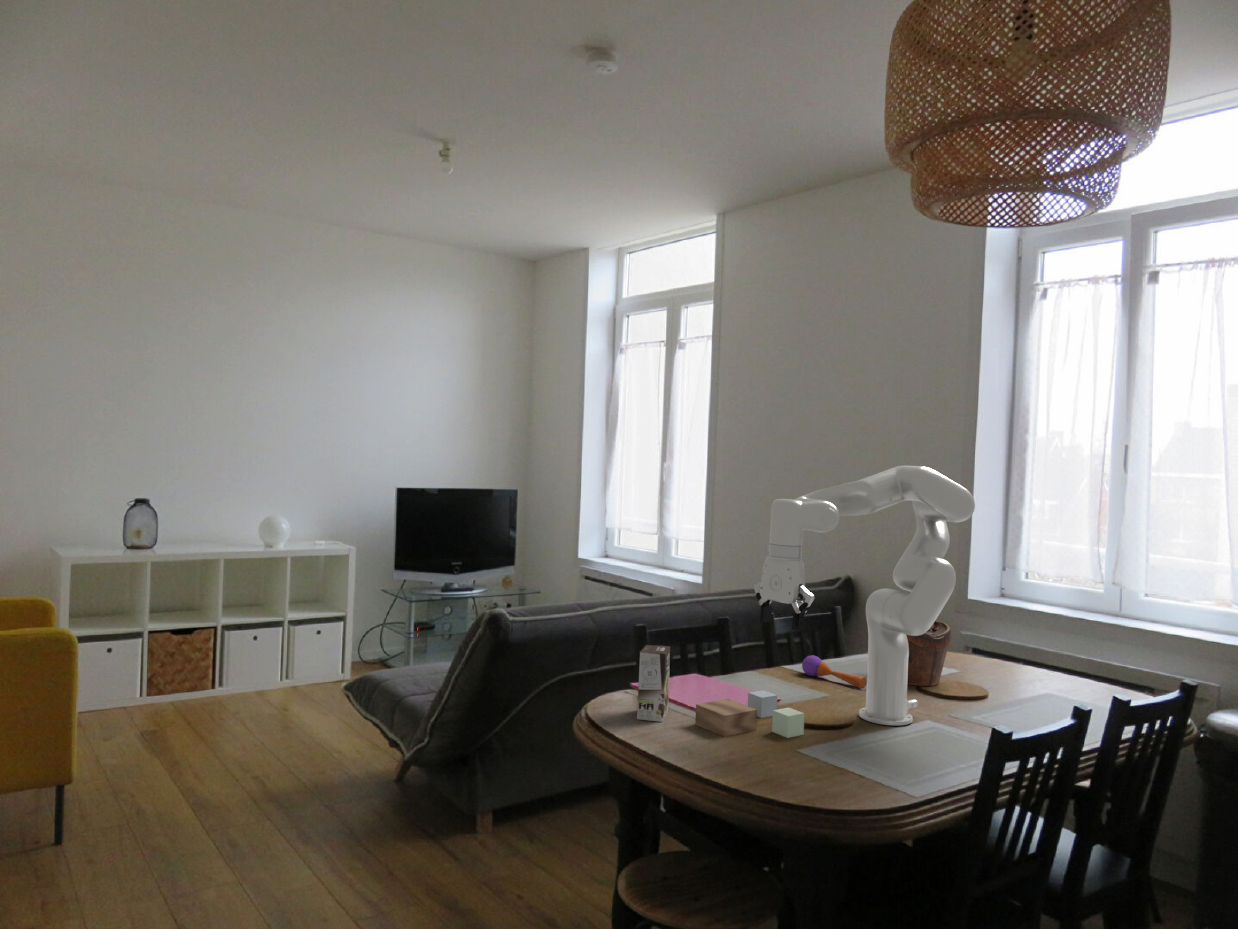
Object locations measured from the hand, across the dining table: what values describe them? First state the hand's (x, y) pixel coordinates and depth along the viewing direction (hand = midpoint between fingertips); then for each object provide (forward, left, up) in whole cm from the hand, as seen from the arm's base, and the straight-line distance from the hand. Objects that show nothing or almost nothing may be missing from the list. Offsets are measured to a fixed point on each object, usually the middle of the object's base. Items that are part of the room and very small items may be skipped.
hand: (781, 626), depth 206 cm
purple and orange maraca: (-46, -25, -24) cm, 58 cm away
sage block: (0, +4, -24) cm, 24 cm away
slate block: (-5, -10, -24) cm, 27 cm away
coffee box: (+20, -21, -24) cm, 38 cm away
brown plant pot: (-69, -14, -24) cm, 74 cm away
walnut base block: (+10, -6, -24) cm, 27 cm away
